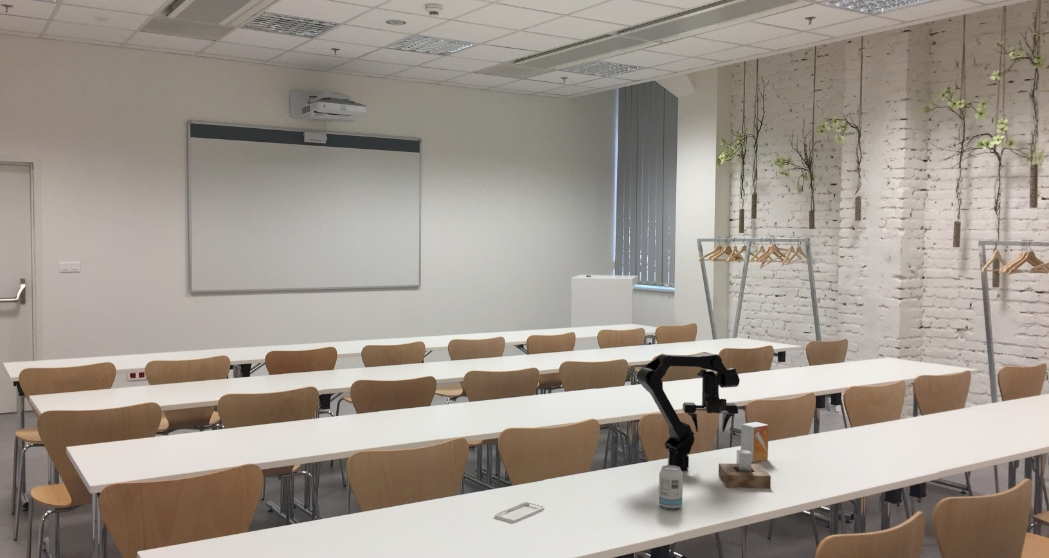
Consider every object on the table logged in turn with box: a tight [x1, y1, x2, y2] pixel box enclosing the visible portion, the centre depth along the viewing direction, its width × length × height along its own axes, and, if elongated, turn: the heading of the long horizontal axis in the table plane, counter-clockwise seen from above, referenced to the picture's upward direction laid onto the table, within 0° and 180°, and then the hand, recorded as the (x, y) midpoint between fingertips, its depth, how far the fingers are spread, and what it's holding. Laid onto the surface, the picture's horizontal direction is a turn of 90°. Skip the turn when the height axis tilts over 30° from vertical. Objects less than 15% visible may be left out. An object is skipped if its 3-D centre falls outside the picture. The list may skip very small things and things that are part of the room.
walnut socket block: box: [718, 462, 772, 489], centre depth 270 cm, size 14×14×4 cm
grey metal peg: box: [736, 449, 753, 472], centre depth 270 cm, size 4×4×10 cm
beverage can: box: [658, 465, 684, 511], centre depth 243 cm, size 7×7×12 cm
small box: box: [740, 421, 770, 463], centre depth 297 cm, size 8×6×13 cm
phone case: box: [494, 501, 545, 523], centre depth 237 cm, size 7×1×15 cm
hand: (709, 431), depth 289 cm, fingers open, 9 cm apart
